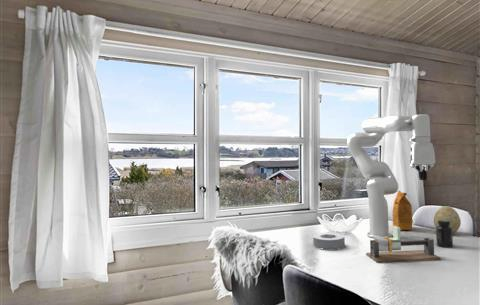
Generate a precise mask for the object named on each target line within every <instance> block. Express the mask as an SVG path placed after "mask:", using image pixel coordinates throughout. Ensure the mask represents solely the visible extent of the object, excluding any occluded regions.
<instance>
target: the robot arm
mask: <svg viewBox="0 0 480 305" xmlns="http://www.w3.org/2000/svg"><path fill="white" fill-rule="evenodd" d="M430 121H431V120H430V116H429V114H425V113H422V114H421V113H419V114H414V115H390V116H380V117H370V118H366V119H364V120H363V122H362V124H361V128H362V130H363V132H354V133H353V132H352V133H351V134H350V135H349V136H348V137H347V140H346V147H347V150H348V152H349V154H350V156H351V158H353V159H354V161H355V164H356V165H357V167H358V170H359V171H360V174H361V175H362V177H363V178H365V179H368V181H367V182H366V186H365V187H366V191H367V196H368V209H369V210H368V213H369V215H368V216H369V217H368V218H369V232H367V233H366V236H367V237H369V238H371V239H374V238H382V237H383V238H384V237H388V238H393V233H391V232H390V230H389V229H390V228H389V208H388V207H389V206H388V204H389V203H388V201H387V199H386V197H385V196H387V195H394V194H396V193H398V191H399V183H398V180H397V178H396V176H395V175H394V172H392V170H391V168H390V166H389V165H388V164H387V163H386V162H384V161H381V160H380V161H379V160H376V161H374V160H373V159H372V157H371V156H370V154H369V152H368V151H366V150H365V149H364V148H370V147H371V148H373V147H375V146H376V145H378V144H379V142H380V141H381V140H382V139H383V137H384V135H386V134H387V133H389V132H390V133H391V132H411V136H412V137H411V138H410V139H409V142H411V145H410V151H409V162H410V168H411V169H415V170H416V171H417V172H418V179H419V180H420V181H427V178H428V175H427V174H428V170H429V169H430V168H433V167H435V164H436V155H435V154H436V153H435V149H434V144H433V143H431V124H430Z"/></svg>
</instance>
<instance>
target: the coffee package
mask: <svg viewBox="0 0 480 305" xmlns="http://www.w3.org/2000/svg"><path fill="white" fill-rule="evenodd" d="M396 193H397V194H396V195H395V196H396V197H395V198H394V201H393V206H392V207H393V208H392V227H393V226H397V227H399V228H400V232H402V231H410V230H413V220H414V219H413V213H412V211H413V209H412V204H411V203H410V201H409V199H408V198H407V193H406V192H402V191H400V190H398V191H397V192H396Z"/></svg>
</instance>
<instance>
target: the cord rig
mask: <svg viewBox="0 0 480 305" xmlns="http://www.w3.org/2000/svg"><path fill="white" fill-rule="evenodd" d="M434 240H435V239H432V238H430V237H423V240H422V239H421V240H420V239H419V240H401V247H407V246H408V247H409V246H423V249H420V250H418V249H417V250H392V239H390V238H388V237H384V238H383V237H382V238H373V239H372V240H371V239H370V240H369V246H370V252H365V255H366V256H367V257H368V258H369V259H371V260H372V259H373V260H372V261H374V262H375V261H376V262H375V263H377V264H384V263H383V262H386V263H403V262H404V263H406V262H422V261H423V262H424V261H425V262H426V261H441V259H442V258H441V257H440V256H438V255H436V254H435V242H434Z"/></svg>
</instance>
